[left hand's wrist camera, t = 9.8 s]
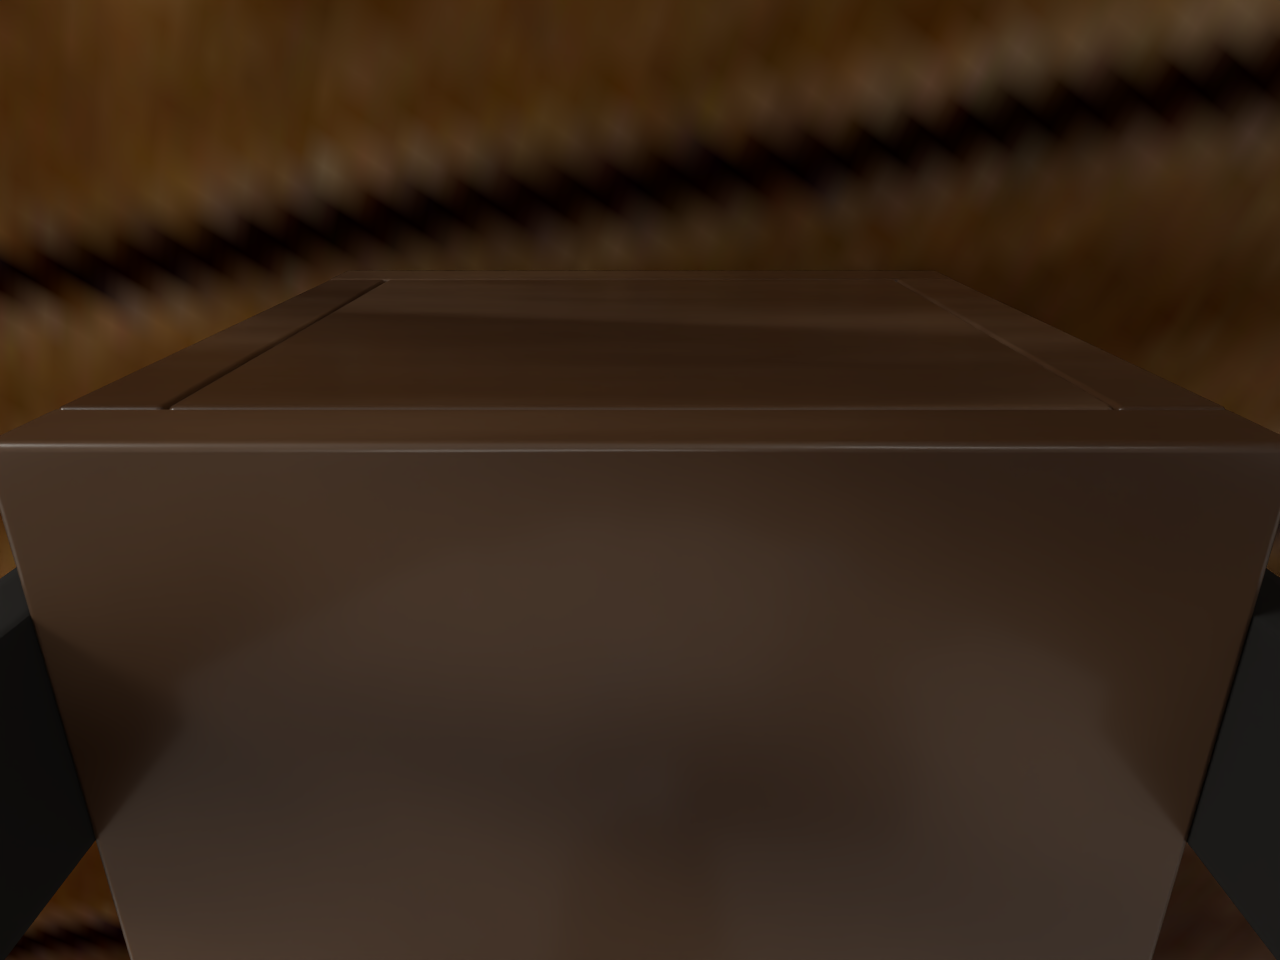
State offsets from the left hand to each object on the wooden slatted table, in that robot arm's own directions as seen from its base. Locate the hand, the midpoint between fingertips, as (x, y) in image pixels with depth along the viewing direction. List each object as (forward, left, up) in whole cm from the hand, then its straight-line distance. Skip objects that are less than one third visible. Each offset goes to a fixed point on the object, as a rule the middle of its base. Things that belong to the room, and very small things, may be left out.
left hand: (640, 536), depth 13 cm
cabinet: (+1, +7, -6) cm, 9 cm away
